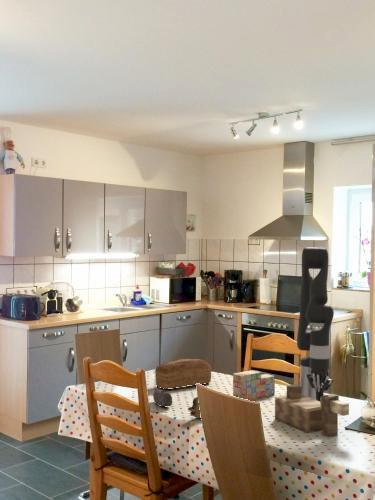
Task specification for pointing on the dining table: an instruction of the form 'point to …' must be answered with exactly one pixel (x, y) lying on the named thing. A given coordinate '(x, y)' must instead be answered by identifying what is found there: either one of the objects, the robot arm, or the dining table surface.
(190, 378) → the bread
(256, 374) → the stack of blocks
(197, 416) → the wooden carving
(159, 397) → the perforated stone tool
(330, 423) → the brown wooden blocky piece
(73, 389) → the dining table surface
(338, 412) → the wooden key
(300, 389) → the lid
